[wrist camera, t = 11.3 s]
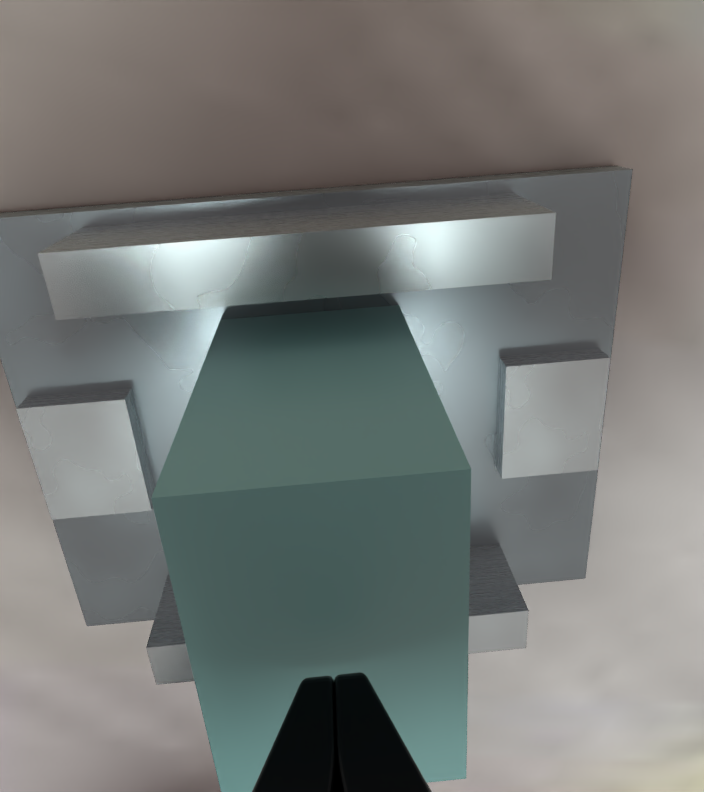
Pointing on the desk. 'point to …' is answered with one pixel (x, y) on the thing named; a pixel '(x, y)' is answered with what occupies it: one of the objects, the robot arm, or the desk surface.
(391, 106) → the desk surface
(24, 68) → the desk surface
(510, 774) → the desk surface
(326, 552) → the block
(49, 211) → the plate
